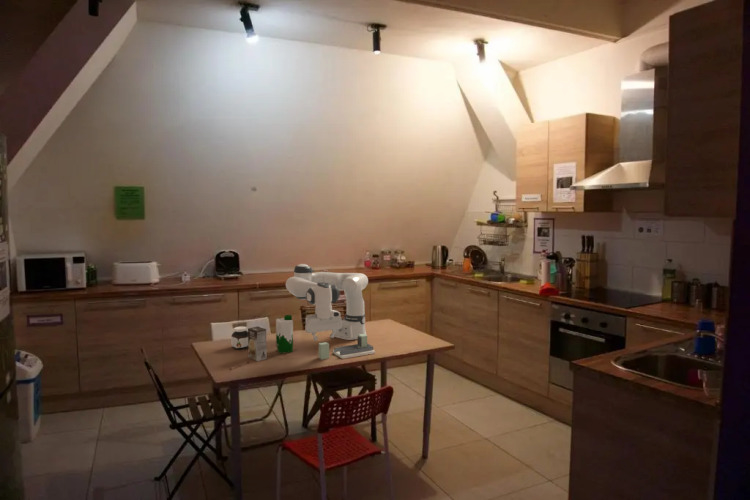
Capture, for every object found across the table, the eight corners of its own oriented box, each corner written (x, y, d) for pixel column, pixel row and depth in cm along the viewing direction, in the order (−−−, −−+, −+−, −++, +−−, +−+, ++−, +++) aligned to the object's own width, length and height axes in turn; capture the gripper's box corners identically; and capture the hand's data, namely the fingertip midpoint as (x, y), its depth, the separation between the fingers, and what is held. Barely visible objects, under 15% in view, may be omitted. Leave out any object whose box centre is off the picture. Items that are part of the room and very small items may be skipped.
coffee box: (247, 357, 272) (247, 328, 271) (258, 354, 277) (257, 326, 275) (256, 361, 266) (256, 331, 264) (267, 358, 270) (266, 329, 269)
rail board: (342, 358, 271) (342, 341, 270) (332, 352, 281) (332, 336, 280) (374, 353, 281) (374, 336, 280) (364, 347, 291) (364, 331, 290)
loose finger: (329, 358, 272) (329, 343, 271) (321, 359, 269) (321, 344, 269) (326, 356, 275) (326, 341, 274) (318, 357, 273) (318, 343, 272)
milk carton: (294, 352, 282) (294, 317, 280) (278, 354, 278) (277, 318, 276) (290, 348, 290) (290, 313, 288) (275, 349, 286) (274, 315, 284)
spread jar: (229, 348, 288) (229, 328, 287) (241, 343, 298) (240, 324, 297) (247, 351, 284) (247, 330, 283) (258, 345, 294) (258, 326, 293)
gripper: (307, 316, 262) (307, 342, 263) (343, 312, 272) (343, 337, 273) (303, 314, 267) (303, 339, 269) (338, 310, 277) (338, 335, 279)
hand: (323, 338), depth 271 cm, fingers open, 8 cm apart
